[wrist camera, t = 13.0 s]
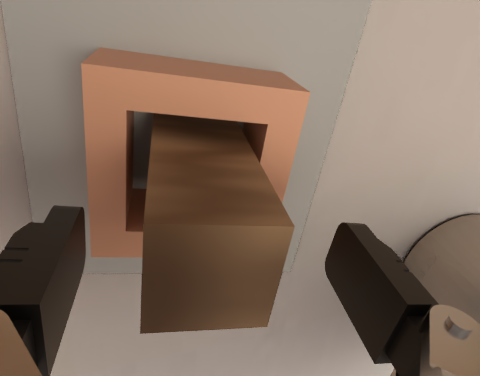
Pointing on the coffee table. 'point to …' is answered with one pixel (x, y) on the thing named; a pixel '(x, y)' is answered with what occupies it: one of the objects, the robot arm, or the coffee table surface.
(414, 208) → the coffee table surface
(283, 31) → the socket block
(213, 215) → the walnut peg
